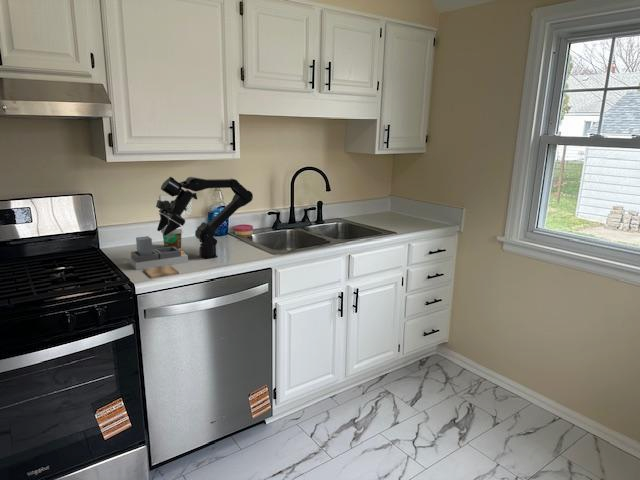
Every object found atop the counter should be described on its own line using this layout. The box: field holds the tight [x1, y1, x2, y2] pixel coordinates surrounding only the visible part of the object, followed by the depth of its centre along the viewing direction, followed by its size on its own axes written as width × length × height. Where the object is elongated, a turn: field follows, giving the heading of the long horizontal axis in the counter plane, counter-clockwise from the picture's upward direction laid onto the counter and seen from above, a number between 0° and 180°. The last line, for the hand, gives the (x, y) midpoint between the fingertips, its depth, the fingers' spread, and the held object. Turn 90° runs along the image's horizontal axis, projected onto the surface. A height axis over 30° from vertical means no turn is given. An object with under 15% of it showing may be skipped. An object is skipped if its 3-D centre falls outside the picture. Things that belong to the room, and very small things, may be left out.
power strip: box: [130, 246, 189, 271], centre depth 202 cm, size 22×9×6 cm, turn 126°
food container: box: [160, 226, 183, 250], centre depth 226 cm, size 12×6×10 cm, turn 56°
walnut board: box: [142, 265, 180, 279], centre depth 190 cm, size 11×11×1 cm
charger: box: [135, 235, 153, 256], centre depth 197 cm, size 5×5×9 cm
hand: (161, 232), depth 199 cm, fingers open, 9 cm apart
